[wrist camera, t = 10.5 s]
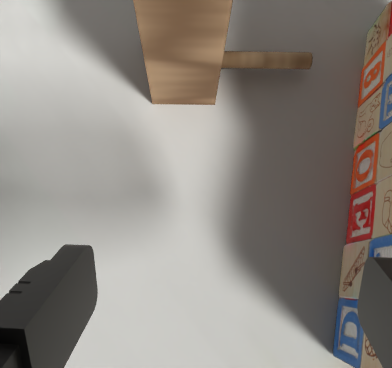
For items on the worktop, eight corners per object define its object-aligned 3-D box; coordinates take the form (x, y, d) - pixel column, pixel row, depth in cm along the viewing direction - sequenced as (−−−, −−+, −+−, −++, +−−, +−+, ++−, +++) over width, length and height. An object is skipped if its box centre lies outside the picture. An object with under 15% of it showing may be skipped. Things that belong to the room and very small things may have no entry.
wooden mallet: (300, 39, 24) (378, -121, 14) (306, 105, 23) (397, -22, 13) (154, 37, 24) (133, -129, 14) (152, 104, 22) (127, -28, 13)
